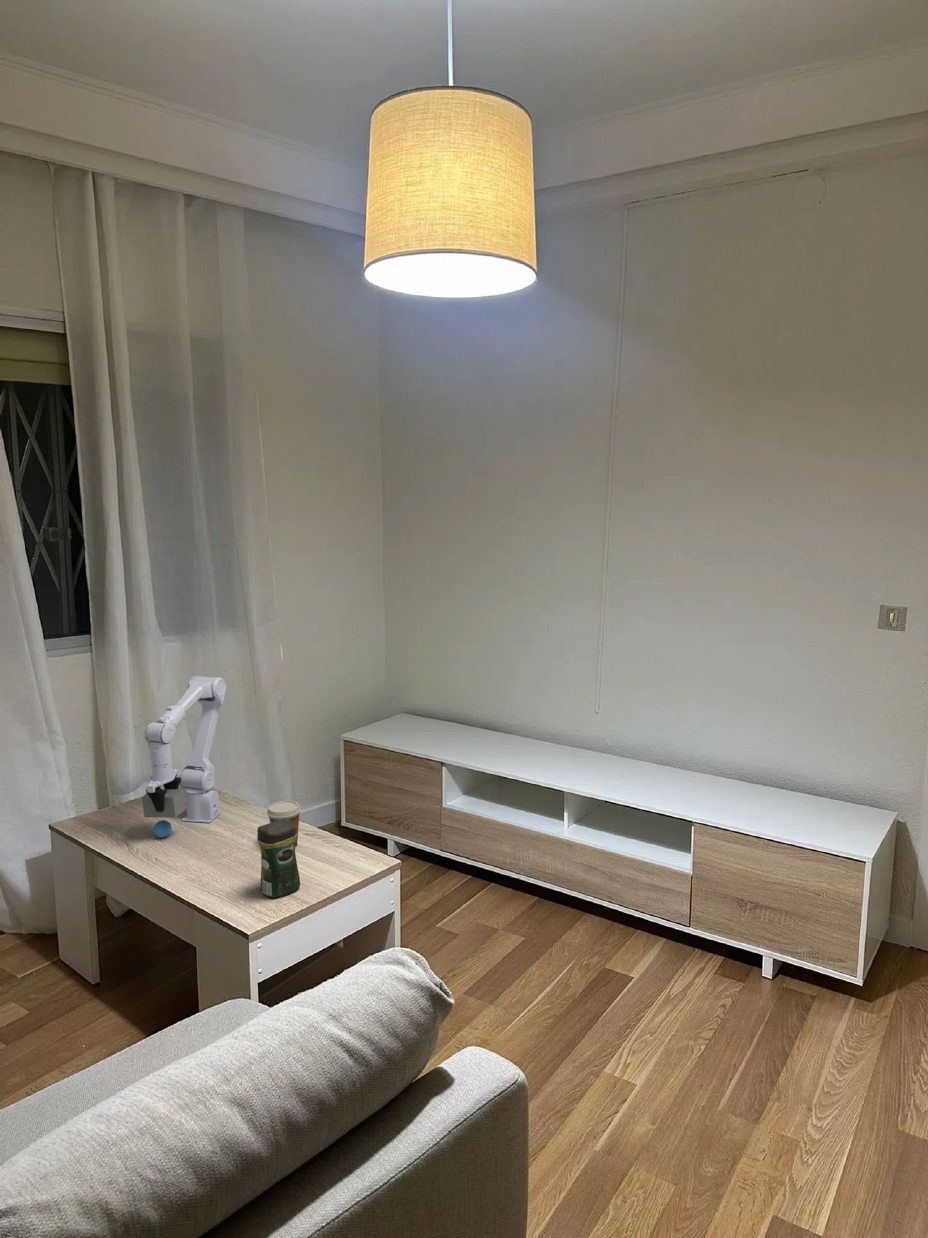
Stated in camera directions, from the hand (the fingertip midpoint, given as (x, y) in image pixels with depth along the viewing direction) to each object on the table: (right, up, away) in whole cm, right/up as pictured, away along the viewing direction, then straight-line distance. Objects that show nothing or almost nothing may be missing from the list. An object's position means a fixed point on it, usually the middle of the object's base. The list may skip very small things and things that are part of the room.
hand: (165, 807), depth 261 cm
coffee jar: (+40, -15, -32) cm, 53 cm away
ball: (-1, -7, +2) cm, 7 cm away
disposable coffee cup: (+36, -10, -6) cm, 38 cm away
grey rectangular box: (0, -2, 0) cm, 2 cm away
